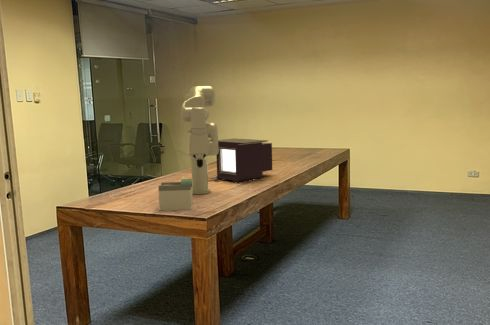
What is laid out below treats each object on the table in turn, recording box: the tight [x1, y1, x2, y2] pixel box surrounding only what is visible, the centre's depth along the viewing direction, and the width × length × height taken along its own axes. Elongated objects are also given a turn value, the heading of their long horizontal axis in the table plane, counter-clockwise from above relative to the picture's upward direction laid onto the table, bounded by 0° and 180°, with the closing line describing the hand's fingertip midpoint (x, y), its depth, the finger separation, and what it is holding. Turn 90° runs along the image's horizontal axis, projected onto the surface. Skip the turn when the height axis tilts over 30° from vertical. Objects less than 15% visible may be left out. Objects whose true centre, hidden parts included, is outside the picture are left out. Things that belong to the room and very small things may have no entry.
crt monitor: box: [215, 138, 273, 184], centre depth 322 cm, size 35×35×27 cm
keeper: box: [179, 178, 192, 185], centre depth 237 cm, size 9×5×2 cm, turn 2°
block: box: [157, 181, 194, 211], centre depth 238 cm, size 12×16×12 cm
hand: (200, 167), depth 236 cm, fingers closed
